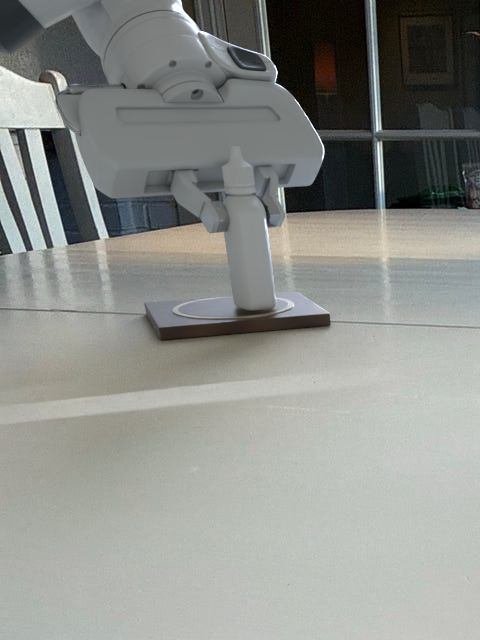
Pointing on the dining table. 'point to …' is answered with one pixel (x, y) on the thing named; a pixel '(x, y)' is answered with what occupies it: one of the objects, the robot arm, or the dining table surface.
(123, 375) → the dining table surface
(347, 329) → the dining table surface
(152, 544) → the dining table surface
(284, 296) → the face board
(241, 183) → the eye dropper bottle
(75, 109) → the robot arm
